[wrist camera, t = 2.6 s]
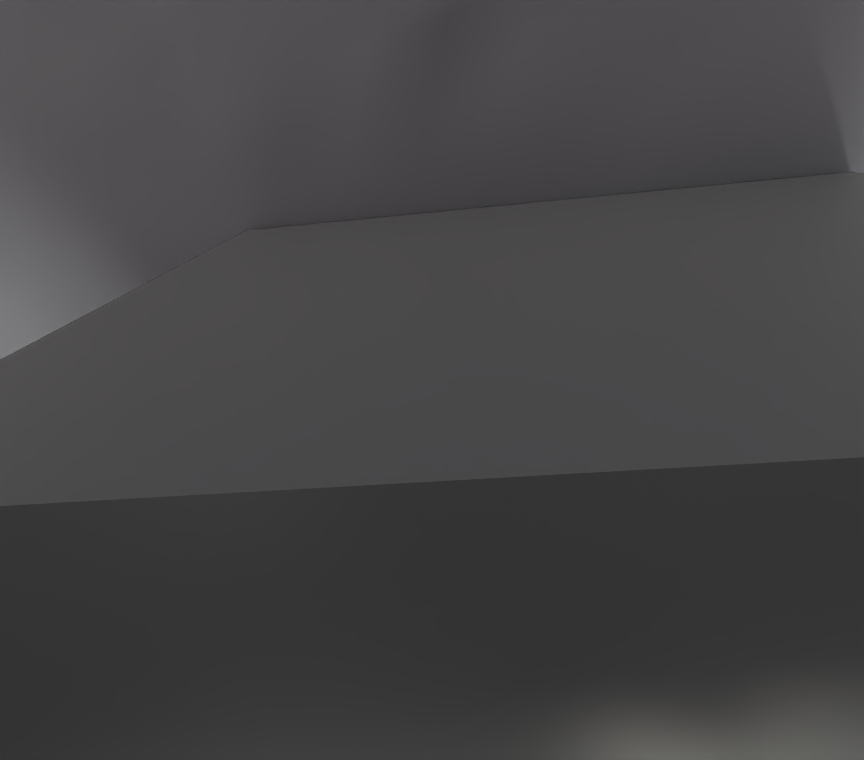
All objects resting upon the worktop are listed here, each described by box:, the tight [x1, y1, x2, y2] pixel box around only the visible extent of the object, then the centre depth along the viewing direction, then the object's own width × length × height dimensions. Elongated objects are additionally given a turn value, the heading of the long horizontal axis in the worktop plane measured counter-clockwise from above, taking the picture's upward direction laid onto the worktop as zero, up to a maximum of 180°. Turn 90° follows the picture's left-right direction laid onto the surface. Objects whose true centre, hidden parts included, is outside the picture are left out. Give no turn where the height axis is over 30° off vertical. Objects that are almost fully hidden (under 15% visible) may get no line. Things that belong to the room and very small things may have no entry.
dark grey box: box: [0, 172, 864, 760], centre depth 7 cm, size 8×8×7 cm
